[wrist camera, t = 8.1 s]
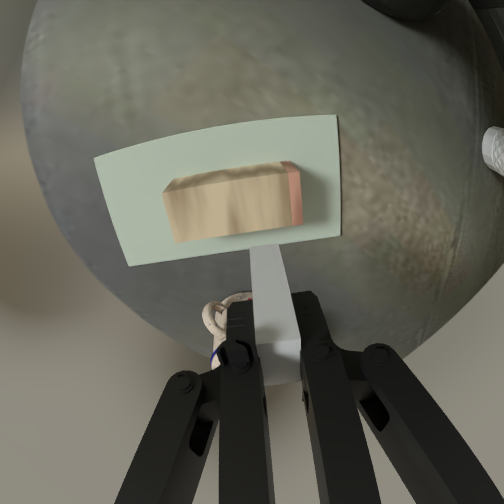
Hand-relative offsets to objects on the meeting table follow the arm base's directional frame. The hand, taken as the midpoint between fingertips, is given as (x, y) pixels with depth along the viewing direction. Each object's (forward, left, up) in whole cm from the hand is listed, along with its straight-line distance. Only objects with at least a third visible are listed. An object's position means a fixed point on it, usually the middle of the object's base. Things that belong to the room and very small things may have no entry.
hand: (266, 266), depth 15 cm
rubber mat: (+3, 0, -16) cm, 16 cm away
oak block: (+8, 0, -13) cm, 15 cm away
